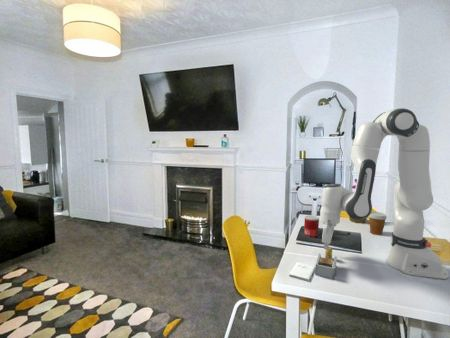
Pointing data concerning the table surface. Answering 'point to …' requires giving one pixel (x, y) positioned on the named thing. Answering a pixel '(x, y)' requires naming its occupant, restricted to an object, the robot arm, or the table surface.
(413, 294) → the table surface
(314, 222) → the canned food
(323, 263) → the towed block
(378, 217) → the disposable coffee cup
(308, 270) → the external hard drive
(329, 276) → the lane
